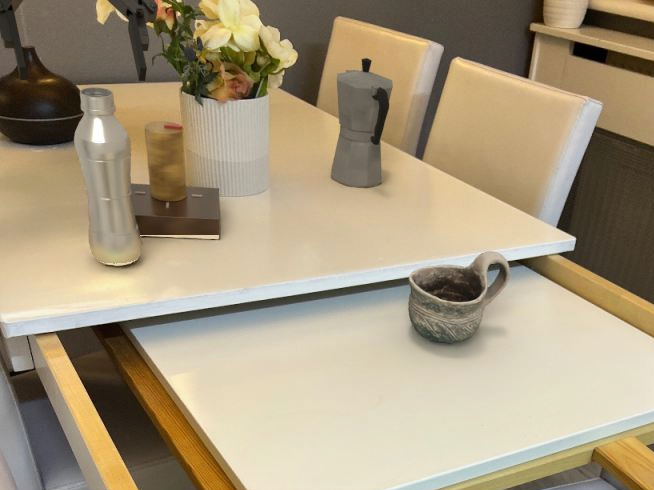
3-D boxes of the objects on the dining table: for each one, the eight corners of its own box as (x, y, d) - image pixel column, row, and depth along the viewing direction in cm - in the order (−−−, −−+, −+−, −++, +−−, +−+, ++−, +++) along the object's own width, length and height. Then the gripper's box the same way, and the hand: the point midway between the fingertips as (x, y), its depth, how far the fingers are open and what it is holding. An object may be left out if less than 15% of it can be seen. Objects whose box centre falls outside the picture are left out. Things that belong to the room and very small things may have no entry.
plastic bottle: (96, 275, 98) (70, 102, 84) (87, 251, 102) (61, 83, 89) (148, 270, 100) (132, 101, 87) (138, 247, 104) (120, 83, 91)
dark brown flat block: (114, 235, 106) (112, 212, 104) (122, 200, 115) (120, 178, 113) (219, 240, 109) (219, 217, 107) (219, 205, 118) (219, 184, 115)
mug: (386, 322, 97) (396, 245, 90) (465, 304, 103) (480, 230, 96) (431, 361, 92) (446, 282, 85) (512, 340, 98) (531, 264, 91)
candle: (149, 200, 109) (143, 129, 102) (151, 186, 112) (145, 117, 106) (186, 202, 110) (182, 132, 103) (187, 188, 113) (183, 120, 107)
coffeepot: (316, 164, 135) (323, 46, 123) (367, 162, 138) (377, 47, 126) (349, 199, 125) (360, 75, 113) (402, 196, 128) (418, 75, 116)
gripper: (151, -72, 101) (185, 91, 101) (-66, -88, 92) (-27, 91, 92) (156, -118, 94) (193, 57, 94) (-78, -141, 85) (-36, 53, 85)
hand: (84, 74), depth 93 cm, fingers open, 13 cm apart
